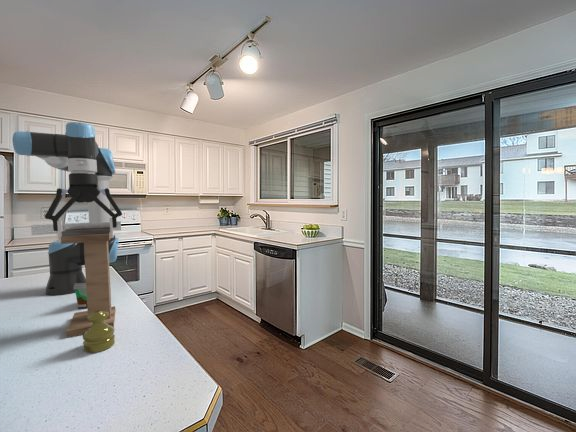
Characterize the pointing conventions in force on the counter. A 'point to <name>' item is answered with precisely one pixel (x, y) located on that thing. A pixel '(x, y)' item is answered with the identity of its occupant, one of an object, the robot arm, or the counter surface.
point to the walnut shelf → (92, 276)
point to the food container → (81, 295)
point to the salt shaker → (98, 333)
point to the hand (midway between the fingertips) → (87, 239)
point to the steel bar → (70, 227)
